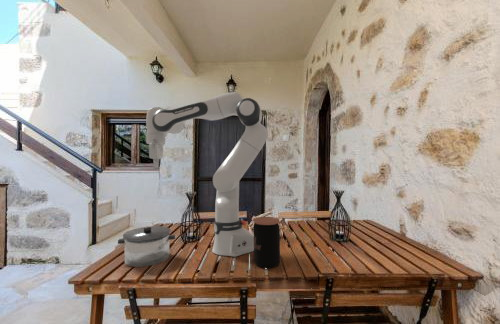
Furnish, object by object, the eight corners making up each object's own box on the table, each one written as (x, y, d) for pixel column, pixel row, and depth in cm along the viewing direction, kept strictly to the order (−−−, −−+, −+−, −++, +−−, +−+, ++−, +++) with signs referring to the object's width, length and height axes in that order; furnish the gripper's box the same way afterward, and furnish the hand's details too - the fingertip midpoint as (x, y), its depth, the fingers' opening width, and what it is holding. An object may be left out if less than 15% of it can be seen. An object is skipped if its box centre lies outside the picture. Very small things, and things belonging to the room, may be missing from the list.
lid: (129, 230, 115) (129, 223, 115) (171, 227, 120) (171, 220, 120) (117, 244, 96) (117, 235, 96) (168, 239, 101) (168, 231, 101)
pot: (124, 253, 114) (124, 231, 114) (176, 248, 119) (176, 227, 119) (112, 269, 96) (112, 244, 96) (173, 263, 102) (173, 239, 102)
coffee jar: (254, 258, 106) (253, 216, 106) (278, 258, 106) (278, 216, 106) (253, 269, 96) (253, 222, 96) (281, 269, 95) (280, 222, 95)
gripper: (160, 138, 114) (160, 168, 114) (164, 142, 134) (164, 167, 134) (145, 138, 113) (145, 168, 113) (152, 141, 133) (152, 167, 133)
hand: (156, 167), depth 124 cm, fingers closed
